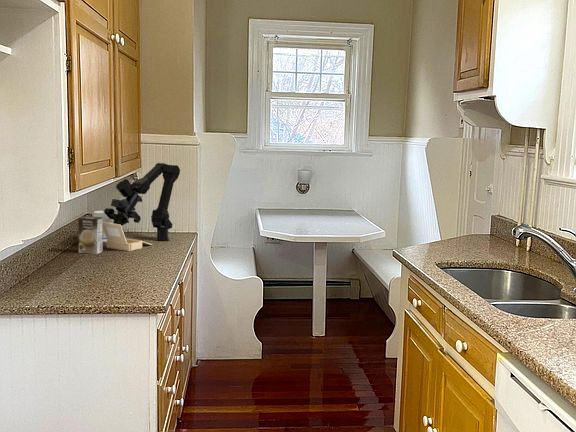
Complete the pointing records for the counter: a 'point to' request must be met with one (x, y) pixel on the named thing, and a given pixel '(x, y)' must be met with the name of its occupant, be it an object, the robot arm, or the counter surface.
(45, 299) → the counter surface
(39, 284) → the counter surface
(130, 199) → the robot arm
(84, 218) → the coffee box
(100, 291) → the counter surface
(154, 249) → the counter surface
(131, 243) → the carton
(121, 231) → the flap
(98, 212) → the supplement tub
